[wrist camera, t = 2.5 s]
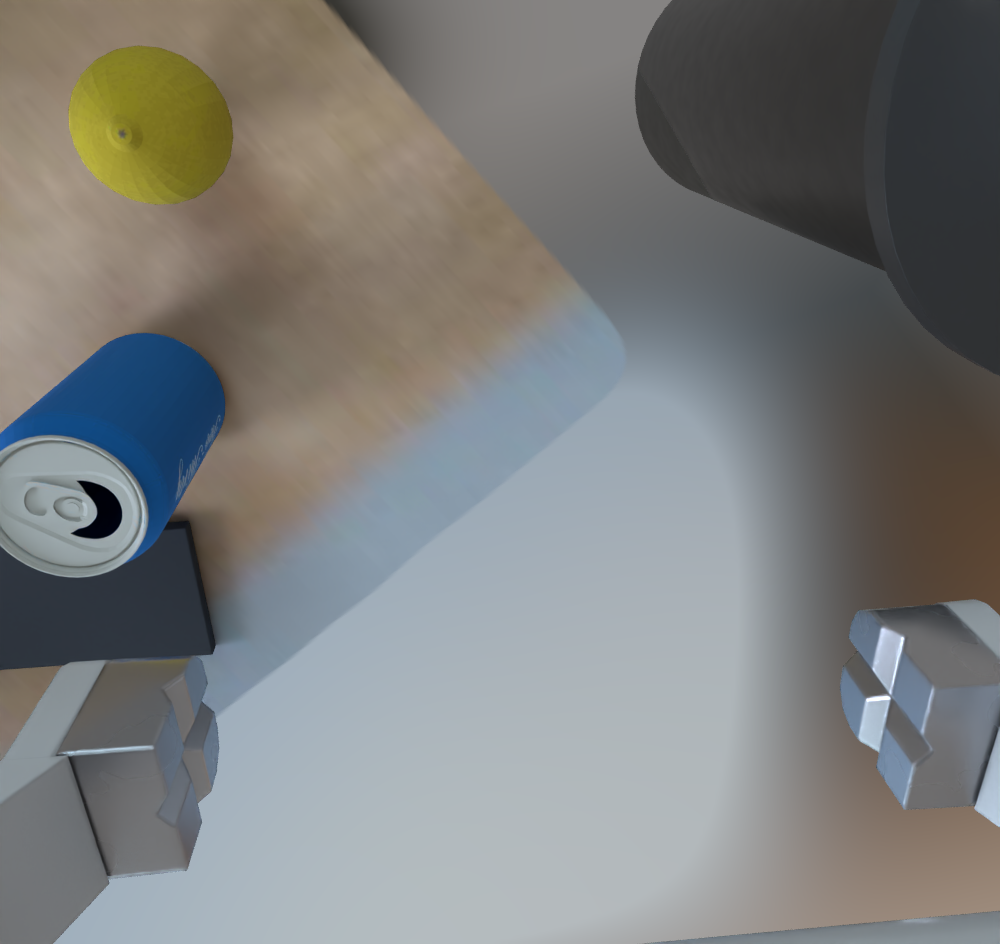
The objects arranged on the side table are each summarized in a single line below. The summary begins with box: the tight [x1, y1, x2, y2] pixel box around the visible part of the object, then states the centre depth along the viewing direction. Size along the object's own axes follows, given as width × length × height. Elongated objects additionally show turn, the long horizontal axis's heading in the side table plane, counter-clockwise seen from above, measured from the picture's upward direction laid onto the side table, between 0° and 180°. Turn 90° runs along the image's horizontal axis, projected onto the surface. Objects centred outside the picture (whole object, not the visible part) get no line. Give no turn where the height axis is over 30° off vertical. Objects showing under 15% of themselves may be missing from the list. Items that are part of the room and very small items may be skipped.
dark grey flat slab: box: [0, 521, 215, 670], centre depth 44 cm, size 20×8×1 cm, turn 91°
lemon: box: [68, 46, 233, 205], centre depth 32 cm, size 6×6×8 cm
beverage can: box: [0, 333, 225, 577], centre depth 35 cm, size 6×6×12 cm
